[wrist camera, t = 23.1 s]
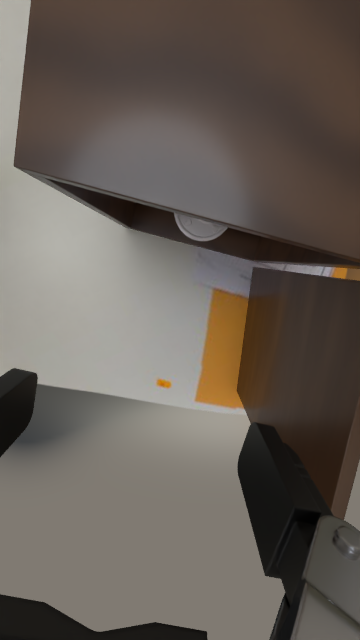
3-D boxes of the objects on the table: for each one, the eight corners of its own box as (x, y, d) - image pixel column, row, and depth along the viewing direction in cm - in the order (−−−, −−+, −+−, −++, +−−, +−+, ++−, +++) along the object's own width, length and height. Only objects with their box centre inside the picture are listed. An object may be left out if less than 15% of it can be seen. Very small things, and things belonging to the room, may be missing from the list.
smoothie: (217, 247, 39) (237, 242, 25) (172, 241, 39) (168, 233, 25) (224, 199, 37) (250, 166, 24) (178, 193, 37) (177, 156, 24)
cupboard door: (294, 270, 40) (502, 294, 14) (274, 393, 45) (403, 581, 19) (253, 267, 40) (386, 285, 14) (236, 390, 45) (315, 576, 19)
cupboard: (257, 262, 40) (404, 272, 14) (125, 227, 39) (12, 166, 13) (279, 191, 38) (502, 44, 12) (140, 152, 37) (41, -107, 11)
